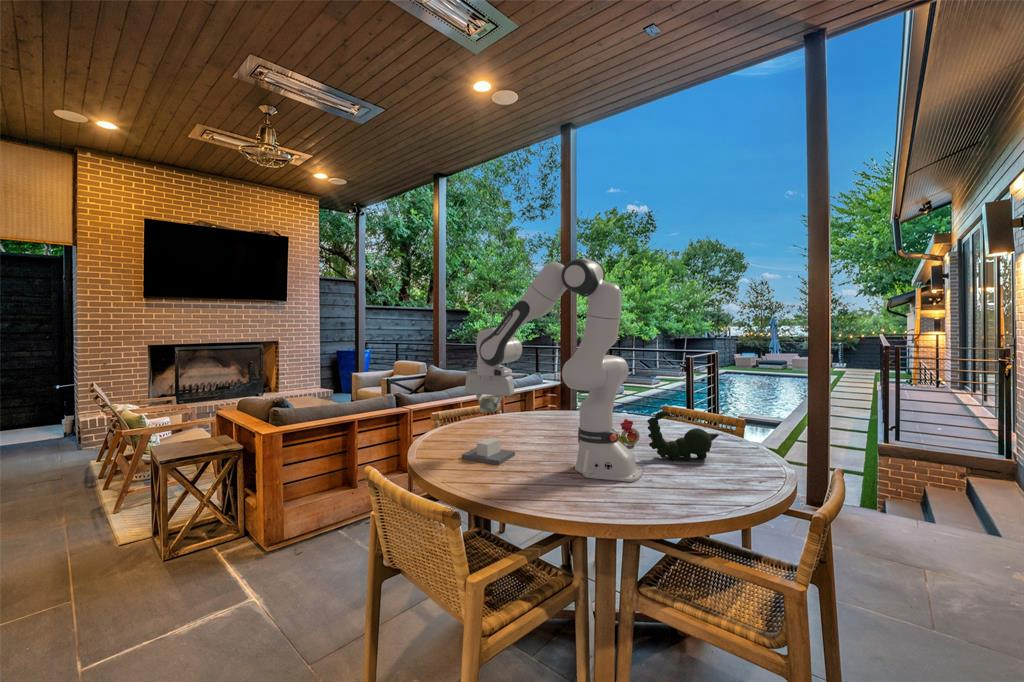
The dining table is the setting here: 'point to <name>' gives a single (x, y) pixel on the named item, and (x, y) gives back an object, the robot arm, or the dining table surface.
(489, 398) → the sage brick
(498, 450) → the cream brick
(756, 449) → the dining table surface
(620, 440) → the bird rattle
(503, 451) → the base plate
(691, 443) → the toy figurine
